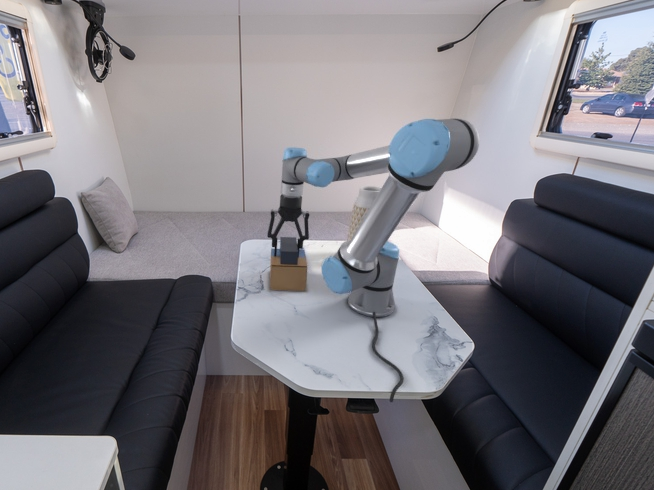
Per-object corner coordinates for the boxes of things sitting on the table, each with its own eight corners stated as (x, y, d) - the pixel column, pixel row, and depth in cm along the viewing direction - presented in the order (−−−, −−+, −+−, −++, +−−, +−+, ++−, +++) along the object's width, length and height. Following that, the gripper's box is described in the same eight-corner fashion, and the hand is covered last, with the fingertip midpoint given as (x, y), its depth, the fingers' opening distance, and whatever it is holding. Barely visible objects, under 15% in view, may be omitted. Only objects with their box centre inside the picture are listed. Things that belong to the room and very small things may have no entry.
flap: (271, 249, 145) (271, 248, 145) (304, 250, 144) (304, 249, 144) (271, 256, 138) (271, 256, 138) (305, 258, 138) (305, 257, 138)
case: (297, 264, 131) (298, 251, 129) (280, 264, 132) (281, 251, 129) (295, 249, 144) (296, 237, 142) (279, 249, 144) (280, 236, 142)
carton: (270, 271, 149) (271, 248, 145) (302, 272, 149) (304, 249, 144) (269, 289, 136) (270, 264, 131) (305, 291, 135) (307, 265, 131)
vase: (356, 266, 155) (367, 193, 142) (338, 254, 166) (347, 185, 153) (383, 262, 160) (396, 191, 146) (364, 250, 171) (374, 183, 158)
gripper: (261, 196, 124) (258, 258, 135) (322, 199, 124) (314, 261, 134) (262, 190, 131) (259, 250, 141) (320, 193, 131) (312, 253, 141)
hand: (286, 255), depth 138 cm, fingers open, 7 cm apart
